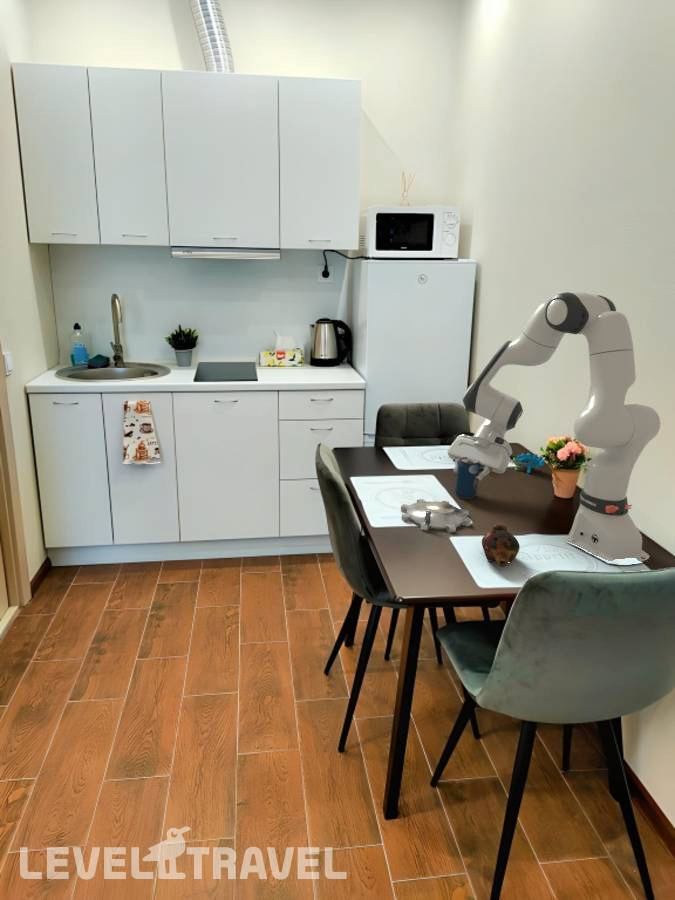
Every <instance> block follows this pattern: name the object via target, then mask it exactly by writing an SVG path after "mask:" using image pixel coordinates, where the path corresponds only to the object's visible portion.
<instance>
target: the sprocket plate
mask: <svg viewBox="0 0 675 900" xmlns="http://www.w3.org/2000/svg"><path fill="white" fill-rule="evenodd" d="M400 511H401V512H405V513H402V514H401V521H403V522H404V523H407V522H412V523H413V524H415V525H417V526H419V527H420V528H419V530H421V531H429V529H431V530H439V531H441V530H442V531H444V530H446V531H447V532H448V533H449V534H451V533H455V532H456V530H457V529H458V528H460V527H462V526H464V525H465V527H468V526H469V527H470V526H471V525H472V519H470V518H467V517H469V510H468V509H466V508H458V507H457V506H454V505H452V504H451V503H450V501H447V500H442V501H436V500H435V501H426V500H425V499H423V498H420V499H418V498H417V499H416V502H415V503H411V504H405V503H403V504H402V505H401V506H400ZM461 525H462V526H461ZM457 527H458V528H457Z"/></svg>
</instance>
